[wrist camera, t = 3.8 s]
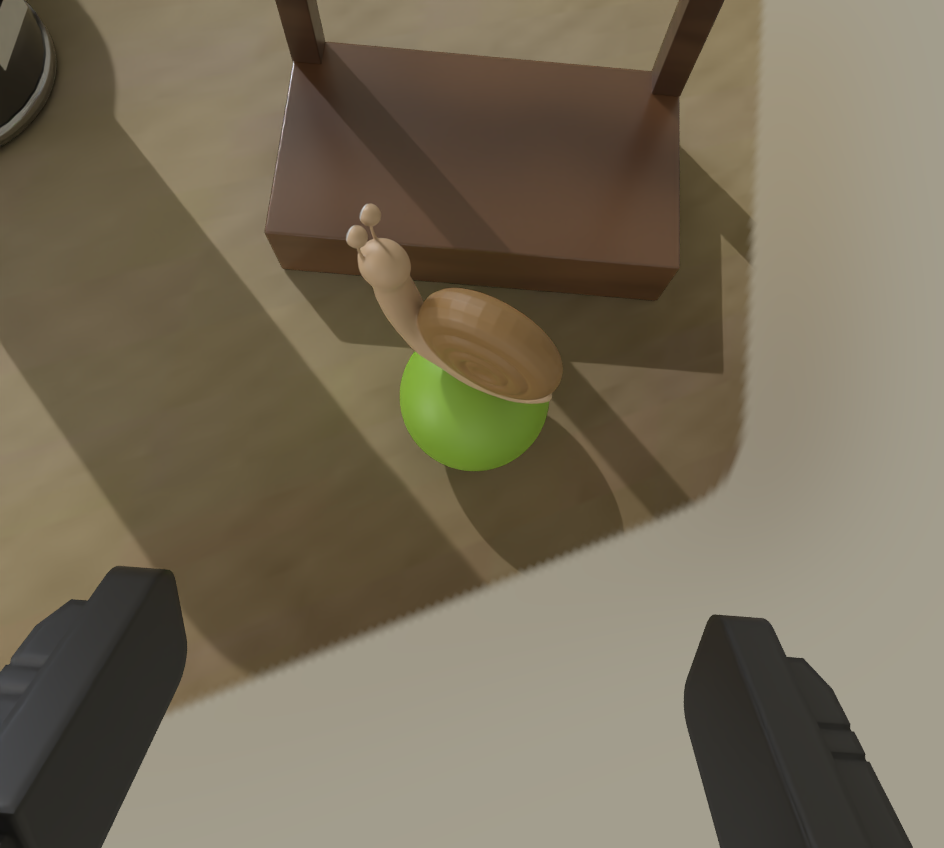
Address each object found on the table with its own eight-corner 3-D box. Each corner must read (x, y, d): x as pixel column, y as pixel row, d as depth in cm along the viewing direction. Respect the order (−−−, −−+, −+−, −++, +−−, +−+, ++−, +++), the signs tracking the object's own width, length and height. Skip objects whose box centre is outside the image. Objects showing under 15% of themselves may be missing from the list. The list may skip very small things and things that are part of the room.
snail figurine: (421, 321, 28) (405, 128, 17) (560, 388, 28) (642, 238, 16) (358, 433, 27) (292, 308, 16) (502, 506, 27) (546, 433, 15)
